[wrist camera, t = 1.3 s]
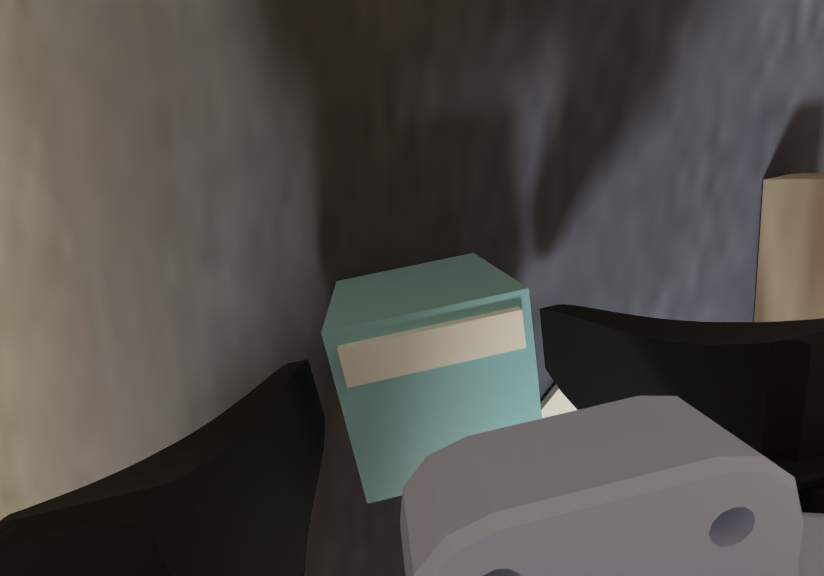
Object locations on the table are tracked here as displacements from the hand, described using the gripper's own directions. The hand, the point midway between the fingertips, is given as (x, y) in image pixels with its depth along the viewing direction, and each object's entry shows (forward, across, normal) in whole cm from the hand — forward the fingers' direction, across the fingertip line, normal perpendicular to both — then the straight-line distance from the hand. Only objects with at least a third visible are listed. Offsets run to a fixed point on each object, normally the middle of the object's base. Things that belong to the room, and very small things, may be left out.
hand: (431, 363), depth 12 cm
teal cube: (+3, 0, 0) cm, 3 cm away
